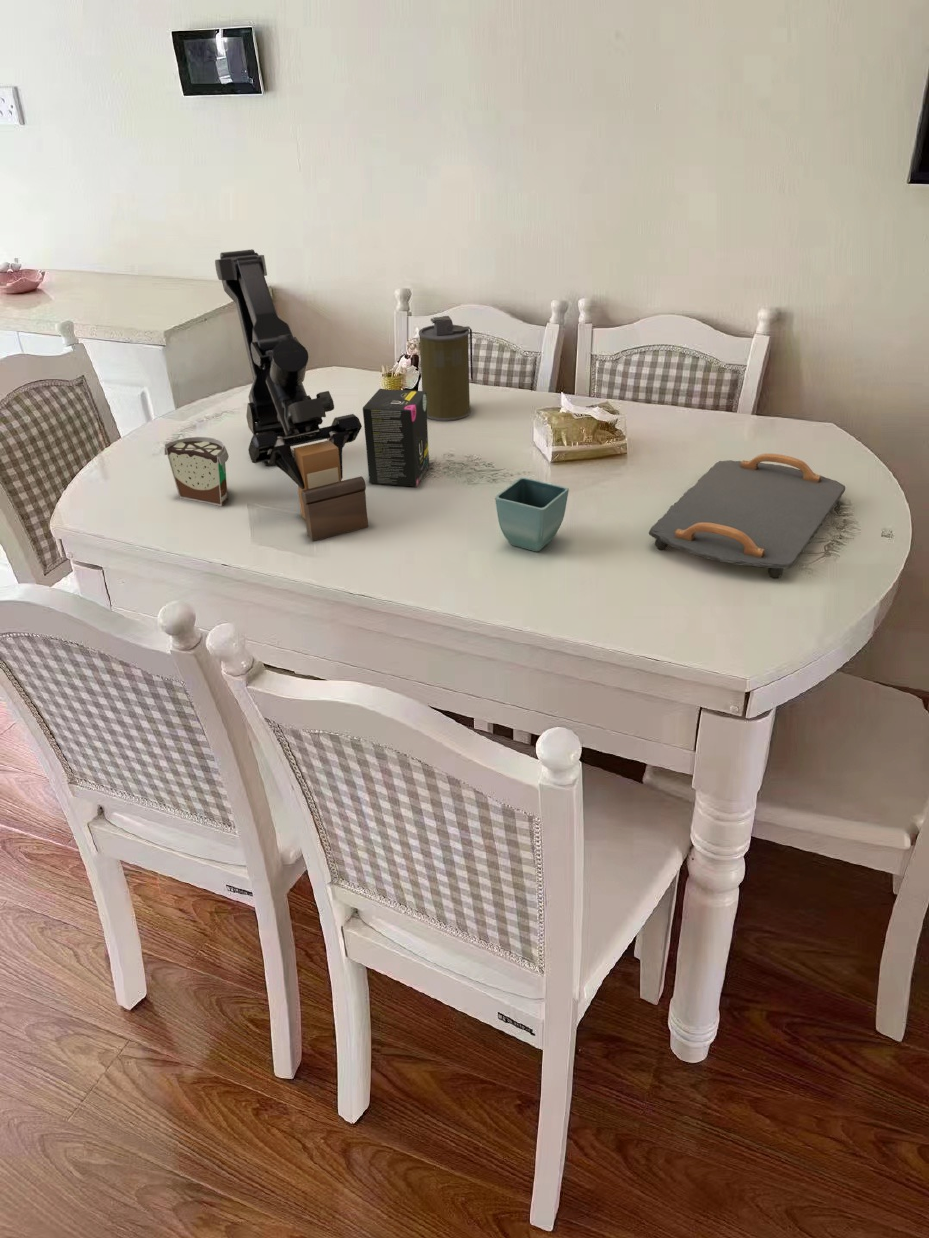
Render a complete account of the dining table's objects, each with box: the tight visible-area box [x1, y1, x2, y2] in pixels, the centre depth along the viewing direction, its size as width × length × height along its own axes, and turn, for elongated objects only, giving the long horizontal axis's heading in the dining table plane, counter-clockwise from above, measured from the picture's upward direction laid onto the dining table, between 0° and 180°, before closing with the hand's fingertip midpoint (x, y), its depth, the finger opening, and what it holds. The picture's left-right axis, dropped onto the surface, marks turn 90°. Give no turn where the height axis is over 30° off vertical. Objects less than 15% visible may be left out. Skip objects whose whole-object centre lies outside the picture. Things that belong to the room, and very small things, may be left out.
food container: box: [163, 436, 230, 507], centre depth 171 cm, size 12×6×10 cm, turn 65°
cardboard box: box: [292, 440, 342, 520], centre depth 162 cm, size 4×6×12 cm, turn 119°
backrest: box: [301, 476, 369, 542], centre depth 158 cm, size 2×10×9 cm, turn 119°
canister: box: [418, 315, 474, 422], centre depth 201 cm, size 11×10×20 cm
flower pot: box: [494, 477, 570, 552], centre depth 153 cm, size 9×9×9 cm
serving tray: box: [648, 453, 846, 580], centre depth 158 cm, size 39×23×6 cm, turn 148°
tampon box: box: [362, 388, 430, 487], centre depth 176 cm, size 11×9×15 cm
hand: (322, 483), depth 161 cm, fingers closed on cardboard box, 6 cm apart
